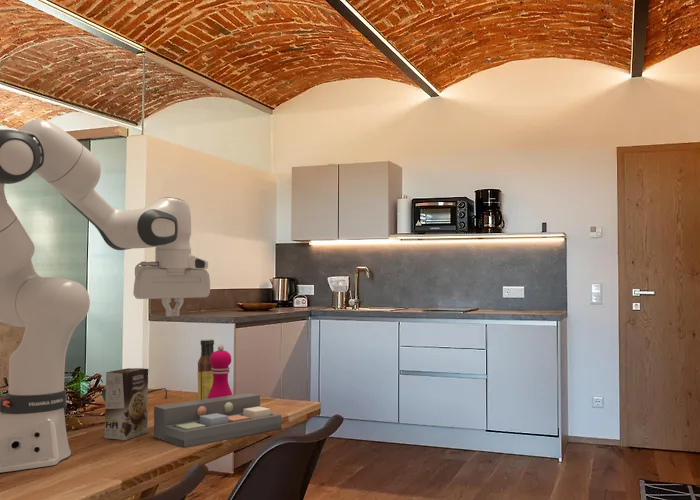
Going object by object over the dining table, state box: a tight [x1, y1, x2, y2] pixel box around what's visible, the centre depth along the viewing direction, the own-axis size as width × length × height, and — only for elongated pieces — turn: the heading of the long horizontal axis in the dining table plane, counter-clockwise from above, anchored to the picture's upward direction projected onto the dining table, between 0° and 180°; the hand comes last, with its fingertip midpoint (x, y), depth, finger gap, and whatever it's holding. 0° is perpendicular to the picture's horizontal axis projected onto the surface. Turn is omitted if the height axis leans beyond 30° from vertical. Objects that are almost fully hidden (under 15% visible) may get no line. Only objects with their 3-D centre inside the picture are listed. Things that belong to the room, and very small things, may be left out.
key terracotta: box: [228, 415, 250, 423], centre depth 175 cm, size 5×5×2 cm
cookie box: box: [104, 367, 149, 441], centre depth 172 cm, size 9×6×16 cm
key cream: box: [243, 406, 271, 419], centre depth 180 cm, size 5×5×2 cm
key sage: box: [176, 422, 206, 430], centre depth 166 cm, size 5×5×2 cm
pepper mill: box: [208, 344, 233, 399], centre depth 196 cm, size 7×7×20 cm
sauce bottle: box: [197, 338, 215, 400], centre depth 213 cm, size 7×6×20 cm
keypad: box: [153, 392, 282, 448], centre depth 175 cm, size 28×14×8 cm, turn 134°
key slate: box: [200, 413, 228, 427], centre depth 170 cm, size 5×5×2 cm
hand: (172, 316), depth 177 cm, fingers closed
